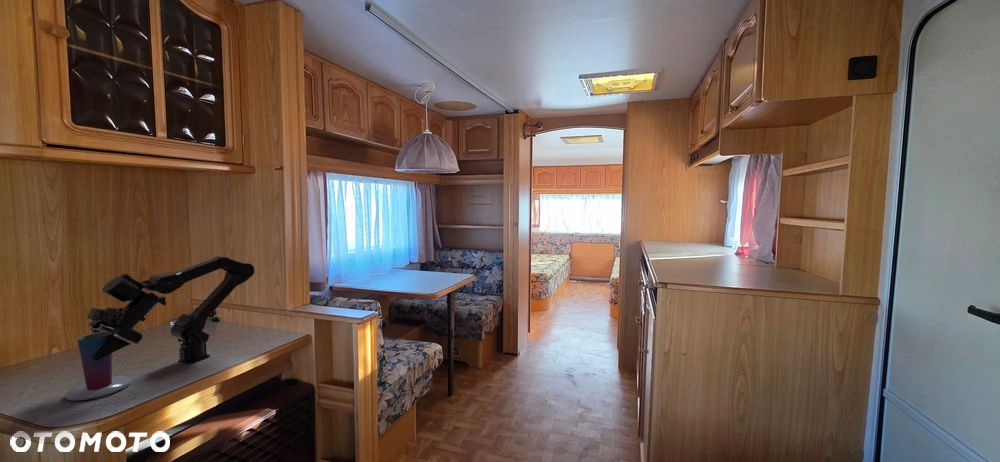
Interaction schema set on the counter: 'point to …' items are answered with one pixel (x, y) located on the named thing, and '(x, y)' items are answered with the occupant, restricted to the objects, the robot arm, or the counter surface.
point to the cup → (95, 371)
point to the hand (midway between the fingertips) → (88, 358)
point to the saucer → (84, 394)
